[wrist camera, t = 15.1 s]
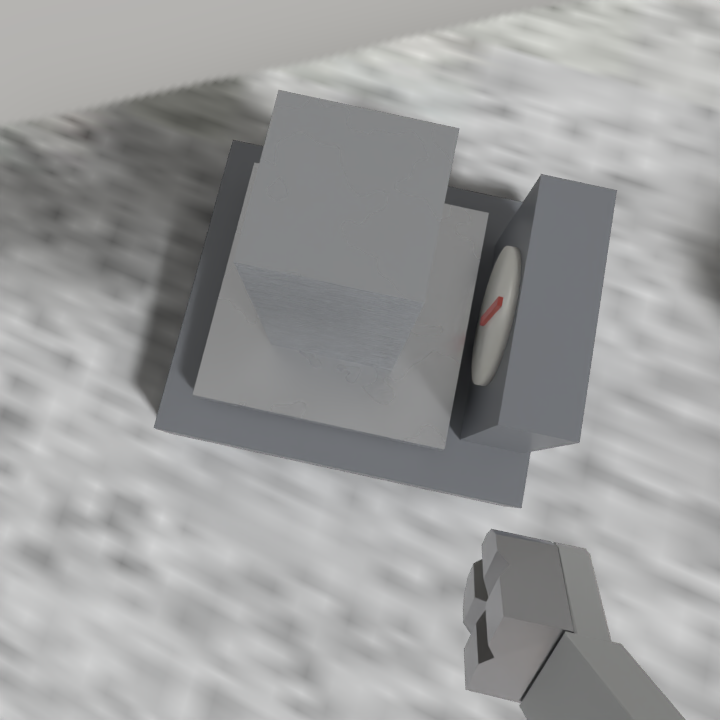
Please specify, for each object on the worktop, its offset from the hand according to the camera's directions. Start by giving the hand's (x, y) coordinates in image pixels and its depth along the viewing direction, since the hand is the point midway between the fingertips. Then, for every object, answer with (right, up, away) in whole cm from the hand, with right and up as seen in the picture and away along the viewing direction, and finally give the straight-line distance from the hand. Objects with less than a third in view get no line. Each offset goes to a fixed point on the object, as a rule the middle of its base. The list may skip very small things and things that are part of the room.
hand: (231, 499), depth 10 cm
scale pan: (+1, +4, +15) cm, 16 cm away
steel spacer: (+2, +4, +14) cm, 15 cm away
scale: (+1, +4, +18) cm, 18 cm away
